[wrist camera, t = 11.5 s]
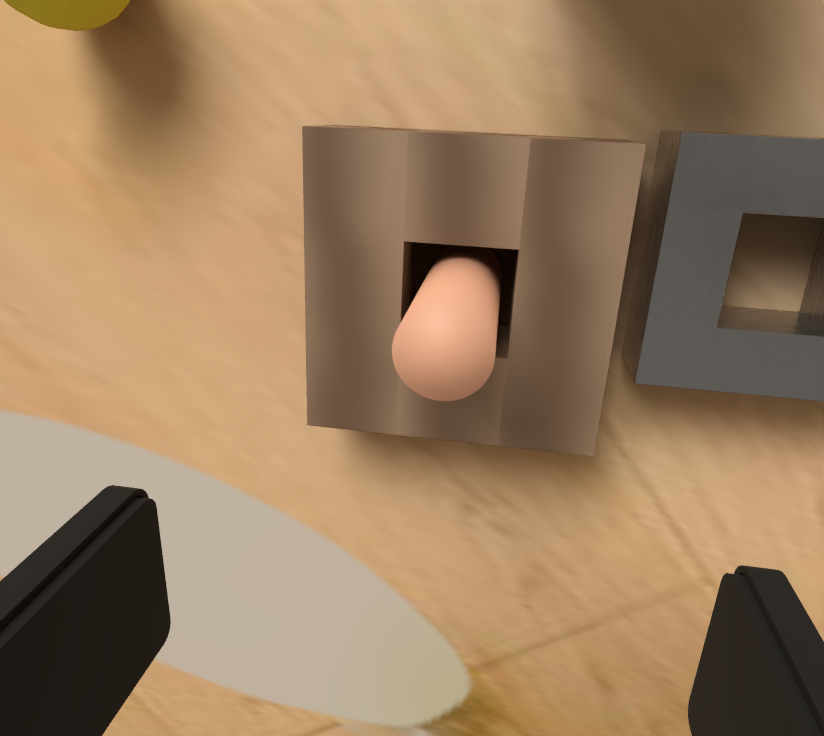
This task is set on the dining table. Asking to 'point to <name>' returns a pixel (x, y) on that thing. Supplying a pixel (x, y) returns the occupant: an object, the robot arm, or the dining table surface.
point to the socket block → (467, 226)
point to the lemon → (70, 12)
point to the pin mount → (724, 268)
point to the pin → (451, 326)
